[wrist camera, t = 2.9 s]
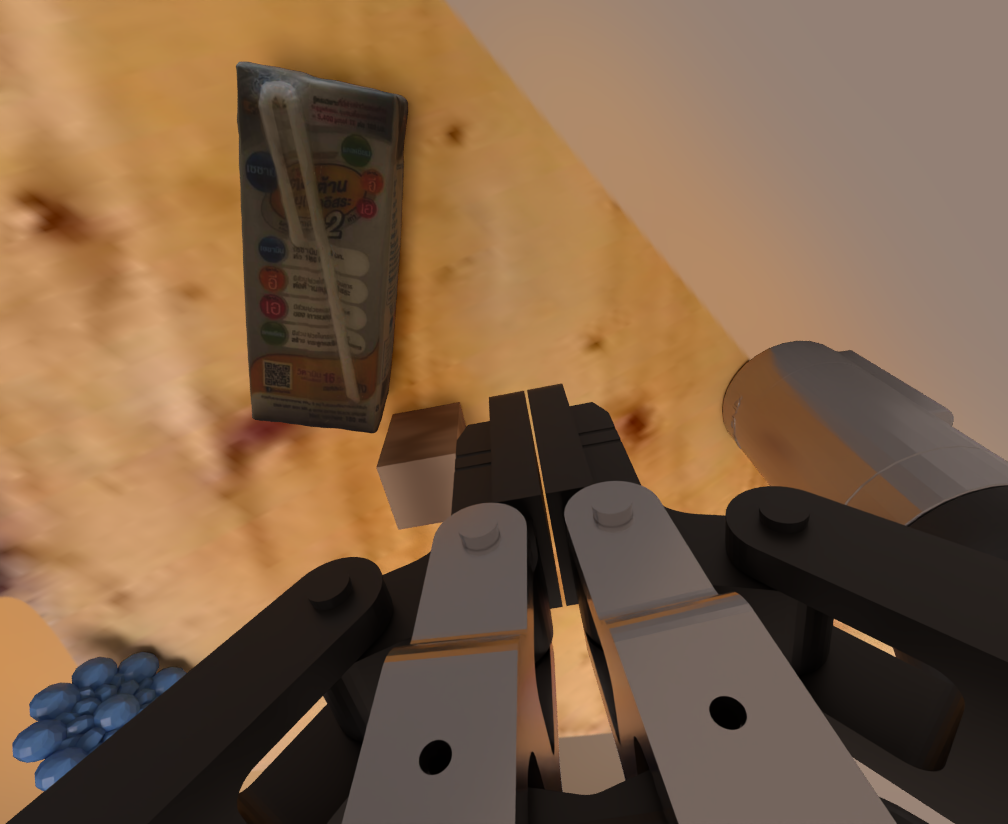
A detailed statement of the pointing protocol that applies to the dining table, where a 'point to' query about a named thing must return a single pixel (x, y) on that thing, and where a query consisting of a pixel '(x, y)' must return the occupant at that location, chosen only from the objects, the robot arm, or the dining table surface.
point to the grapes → (88, 711)
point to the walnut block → (421, 464)
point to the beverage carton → (319, 244)
